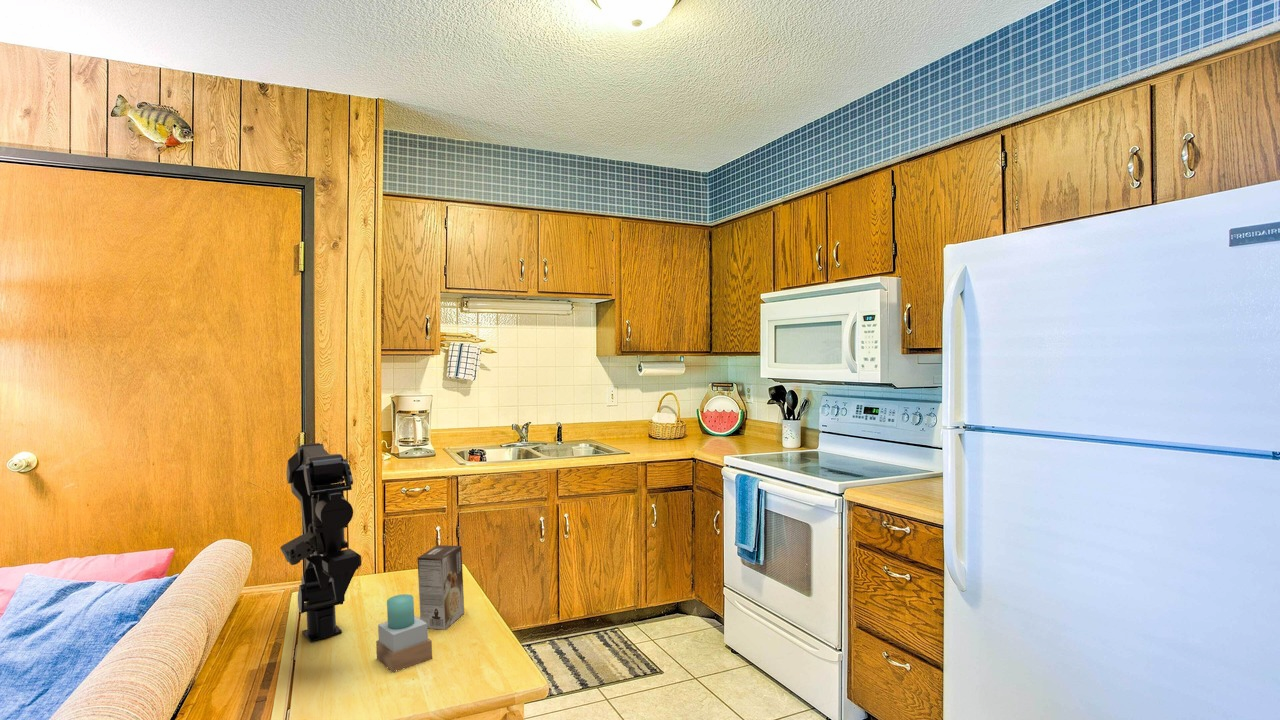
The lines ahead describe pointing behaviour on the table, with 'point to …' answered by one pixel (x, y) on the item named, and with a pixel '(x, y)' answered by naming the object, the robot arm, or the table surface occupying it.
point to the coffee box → (441, 586)
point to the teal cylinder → (400, 611)
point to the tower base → (404, 655)
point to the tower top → (403, 635)
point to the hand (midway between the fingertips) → (331, 594)
